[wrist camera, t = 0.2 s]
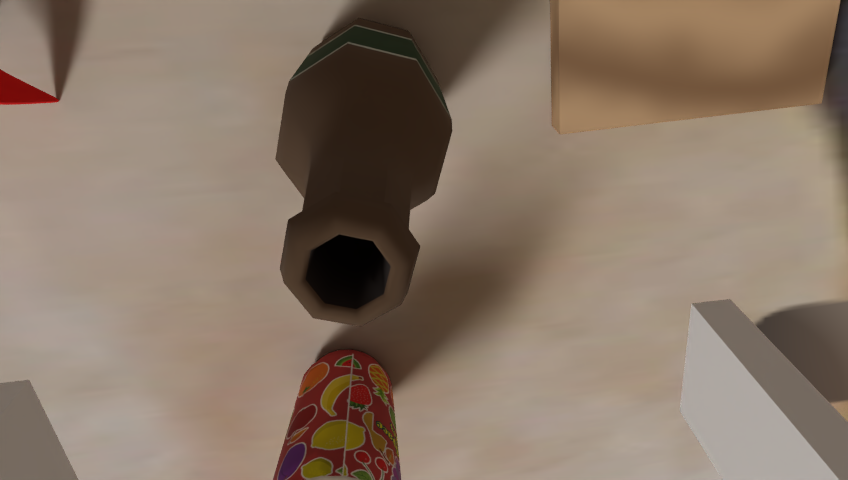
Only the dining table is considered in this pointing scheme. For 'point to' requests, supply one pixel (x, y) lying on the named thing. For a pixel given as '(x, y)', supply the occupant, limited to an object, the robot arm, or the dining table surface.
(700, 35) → the board
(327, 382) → the smoothie
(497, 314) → the dining table surface
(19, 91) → the rocket
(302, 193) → the beer bottle
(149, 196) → the dining table surface
